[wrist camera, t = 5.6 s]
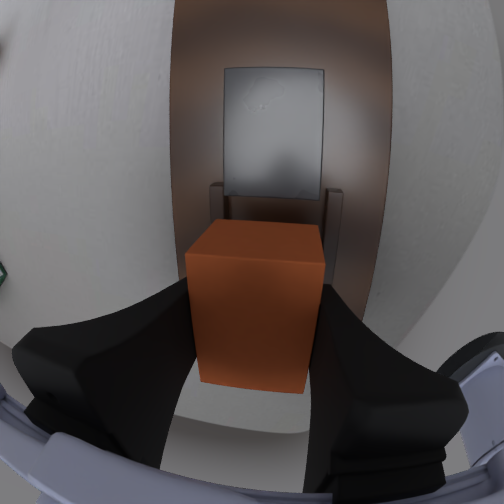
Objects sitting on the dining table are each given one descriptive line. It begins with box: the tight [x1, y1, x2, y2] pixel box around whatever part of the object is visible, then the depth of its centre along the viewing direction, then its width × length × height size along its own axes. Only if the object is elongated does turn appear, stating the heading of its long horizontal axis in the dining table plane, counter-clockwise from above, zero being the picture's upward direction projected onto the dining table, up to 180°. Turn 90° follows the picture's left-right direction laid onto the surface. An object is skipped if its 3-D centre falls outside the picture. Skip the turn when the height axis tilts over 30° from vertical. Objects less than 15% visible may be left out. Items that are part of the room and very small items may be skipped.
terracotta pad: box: [185, 219, 326, 394], centre depth 11 cm, size 6×4×4 cm
